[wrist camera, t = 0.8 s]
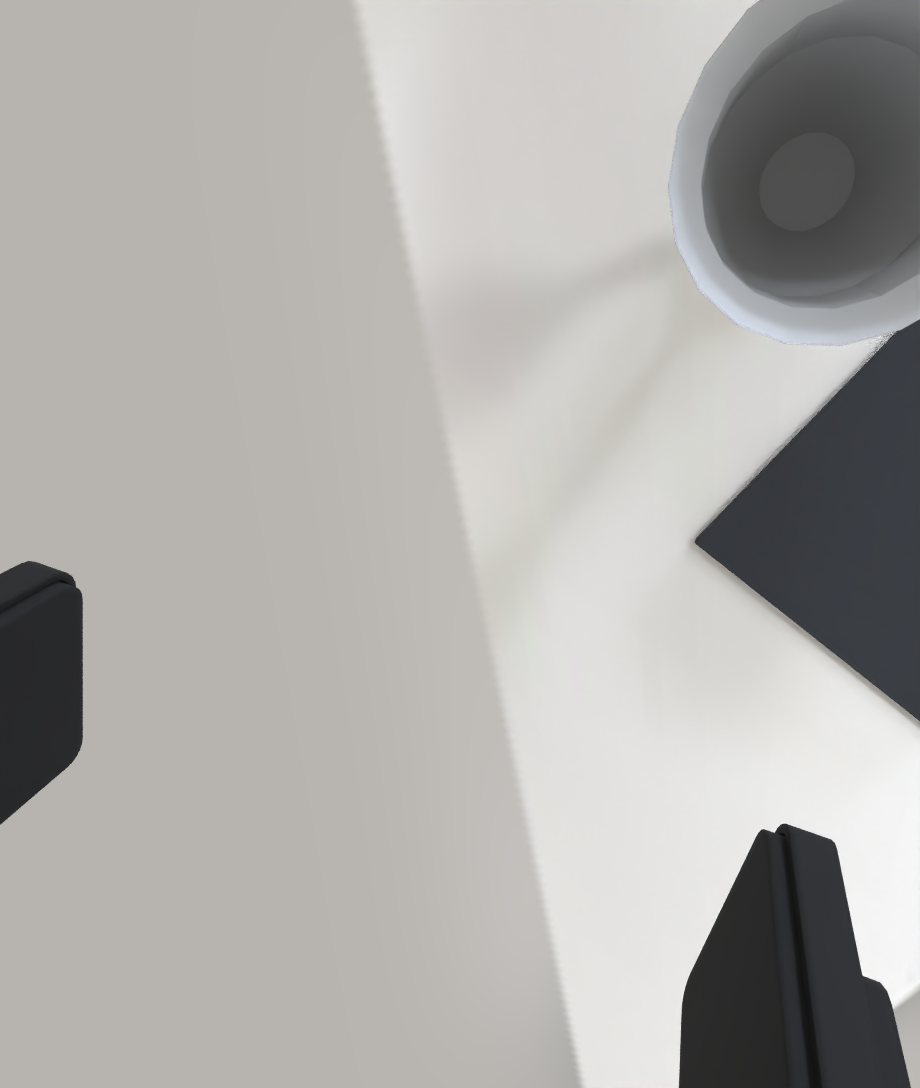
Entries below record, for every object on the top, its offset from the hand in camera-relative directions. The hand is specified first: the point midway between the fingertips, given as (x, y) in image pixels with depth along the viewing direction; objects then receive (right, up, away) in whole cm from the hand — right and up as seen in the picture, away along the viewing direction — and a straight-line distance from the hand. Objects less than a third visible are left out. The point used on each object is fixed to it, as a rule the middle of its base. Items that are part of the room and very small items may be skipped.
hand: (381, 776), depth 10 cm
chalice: (+14, +17, +21) cm, 30 cm away
